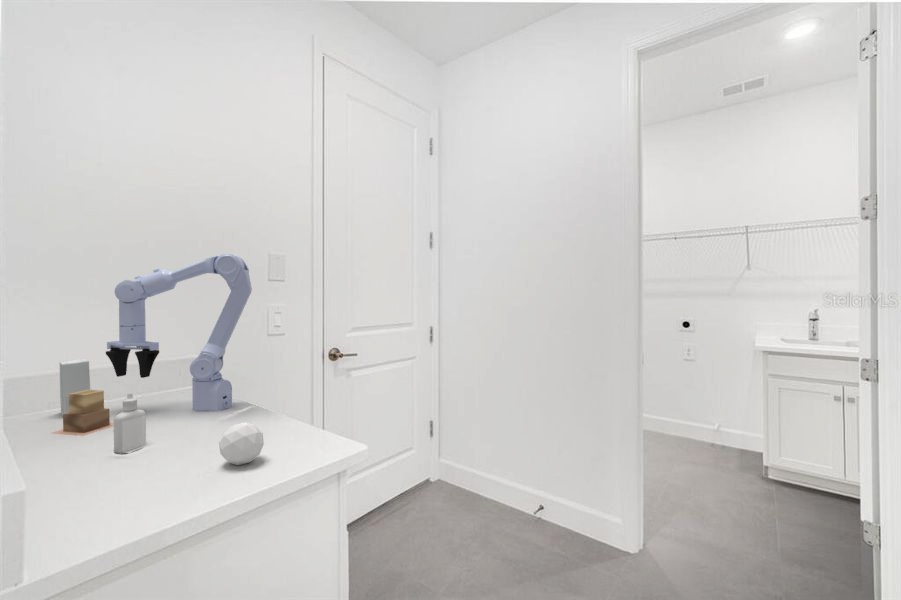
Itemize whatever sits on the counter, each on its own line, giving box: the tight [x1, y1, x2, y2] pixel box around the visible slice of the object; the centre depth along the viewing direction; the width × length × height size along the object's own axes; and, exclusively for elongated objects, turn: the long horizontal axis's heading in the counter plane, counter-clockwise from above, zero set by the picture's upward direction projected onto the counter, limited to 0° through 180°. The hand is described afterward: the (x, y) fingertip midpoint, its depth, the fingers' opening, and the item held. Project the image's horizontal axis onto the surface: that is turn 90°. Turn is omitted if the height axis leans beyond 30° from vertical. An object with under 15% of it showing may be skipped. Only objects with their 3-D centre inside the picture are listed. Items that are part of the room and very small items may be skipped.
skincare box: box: [59, 358, 91, 417], centre depth 117 cm, size 8×6×15 cm
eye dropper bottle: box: [113, 392, 147, 456], centre depth 92 cm, size 4×6×12 cm
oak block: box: [69, 389, 105, 414], centre depth 104 cm, size 4×4×4 cm
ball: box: [218, 421, 265, 466], centre depth 85 cm, size 8×8×8 cm
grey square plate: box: [51, 422, 114, 437], centre depth 107 cm, size 16×16×1 cm
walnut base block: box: [62, 407, 111, 433], centre depth 104 cm, size 6×6×4 cm
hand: (133, 376), depth 118 cm, fingers open, 7 cm apart
